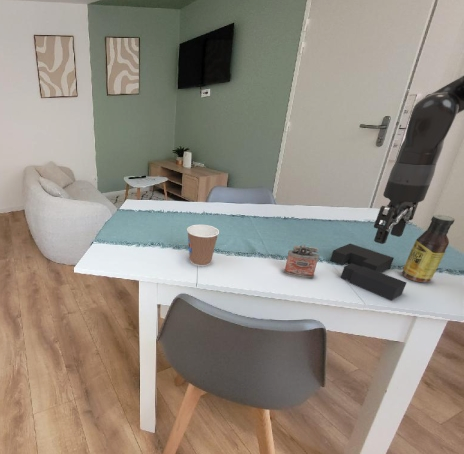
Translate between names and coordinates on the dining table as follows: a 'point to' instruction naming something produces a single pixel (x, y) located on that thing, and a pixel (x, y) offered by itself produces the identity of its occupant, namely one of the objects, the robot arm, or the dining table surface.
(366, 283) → the pad
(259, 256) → the dining table surface
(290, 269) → the lighter
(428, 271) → the sauce bottle
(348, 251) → the notch pad
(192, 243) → the coffee cup
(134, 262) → the dining table surface
